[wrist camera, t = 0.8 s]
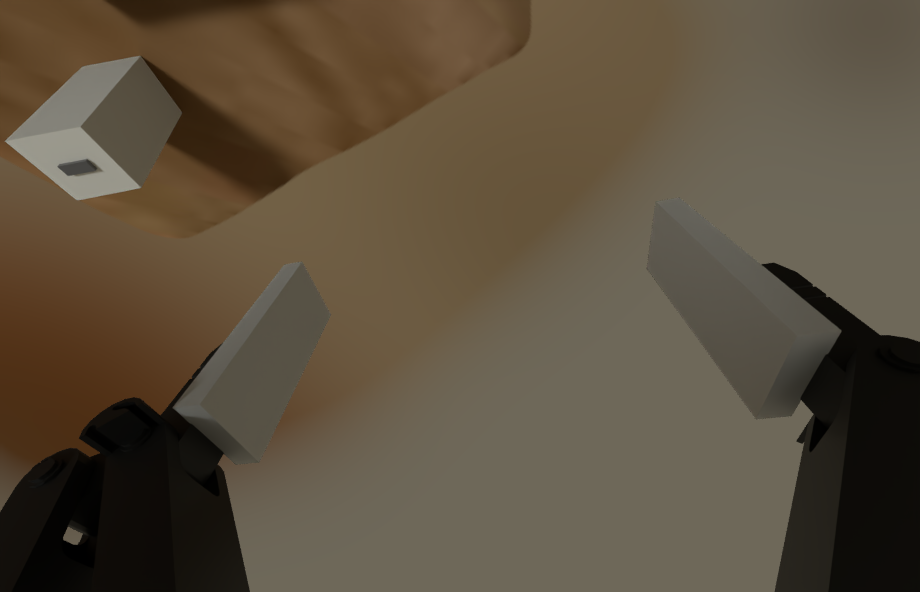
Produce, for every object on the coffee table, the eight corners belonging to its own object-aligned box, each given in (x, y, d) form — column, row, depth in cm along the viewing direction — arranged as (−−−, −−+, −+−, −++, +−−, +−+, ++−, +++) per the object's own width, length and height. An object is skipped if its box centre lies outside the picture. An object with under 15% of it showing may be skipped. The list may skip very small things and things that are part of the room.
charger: (131, 122, 35) (75, 202, 28) (82, 66, 31) (2, 143, 24) (182, 112, 35) (139, 190, 28) (140, 55, 31) (78, 129, 24)
